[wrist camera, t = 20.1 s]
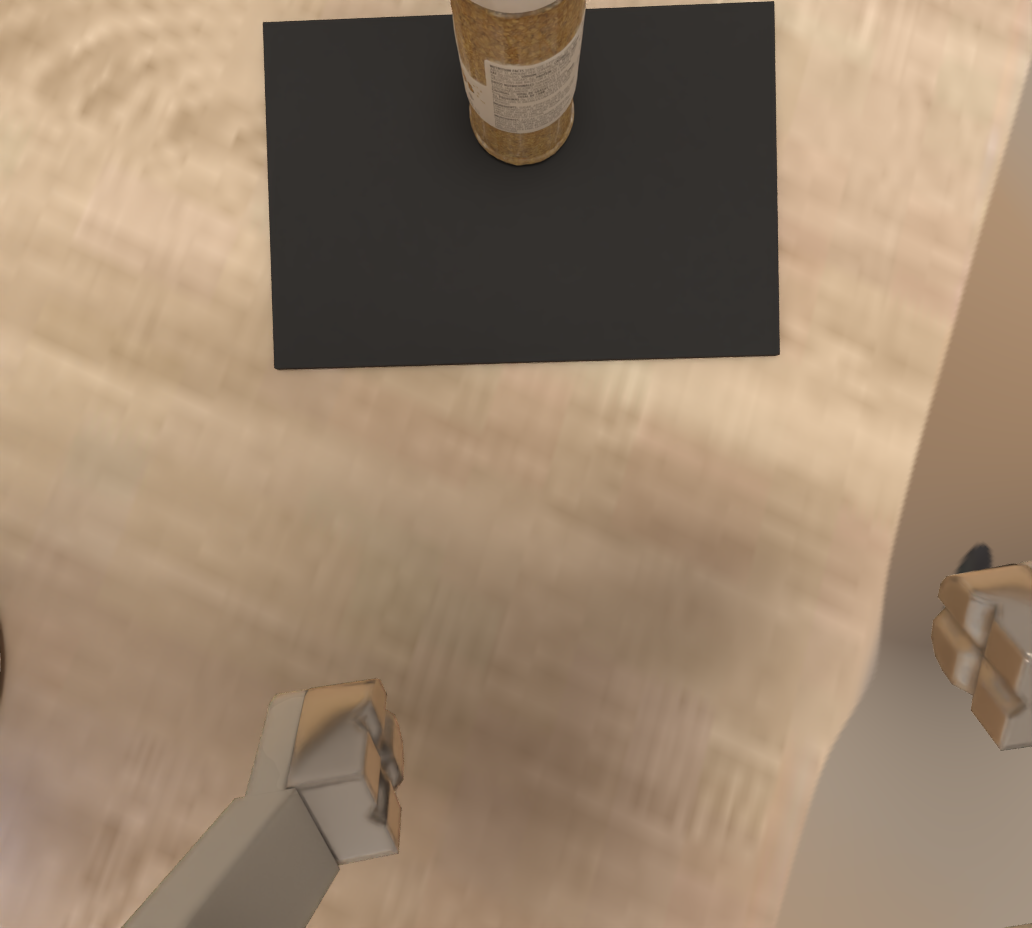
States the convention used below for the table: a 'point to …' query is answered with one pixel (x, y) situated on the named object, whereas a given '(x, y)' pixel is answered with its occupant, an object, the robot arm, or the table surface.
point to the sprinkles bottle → (520, 73)
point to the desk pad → (523, 197)
